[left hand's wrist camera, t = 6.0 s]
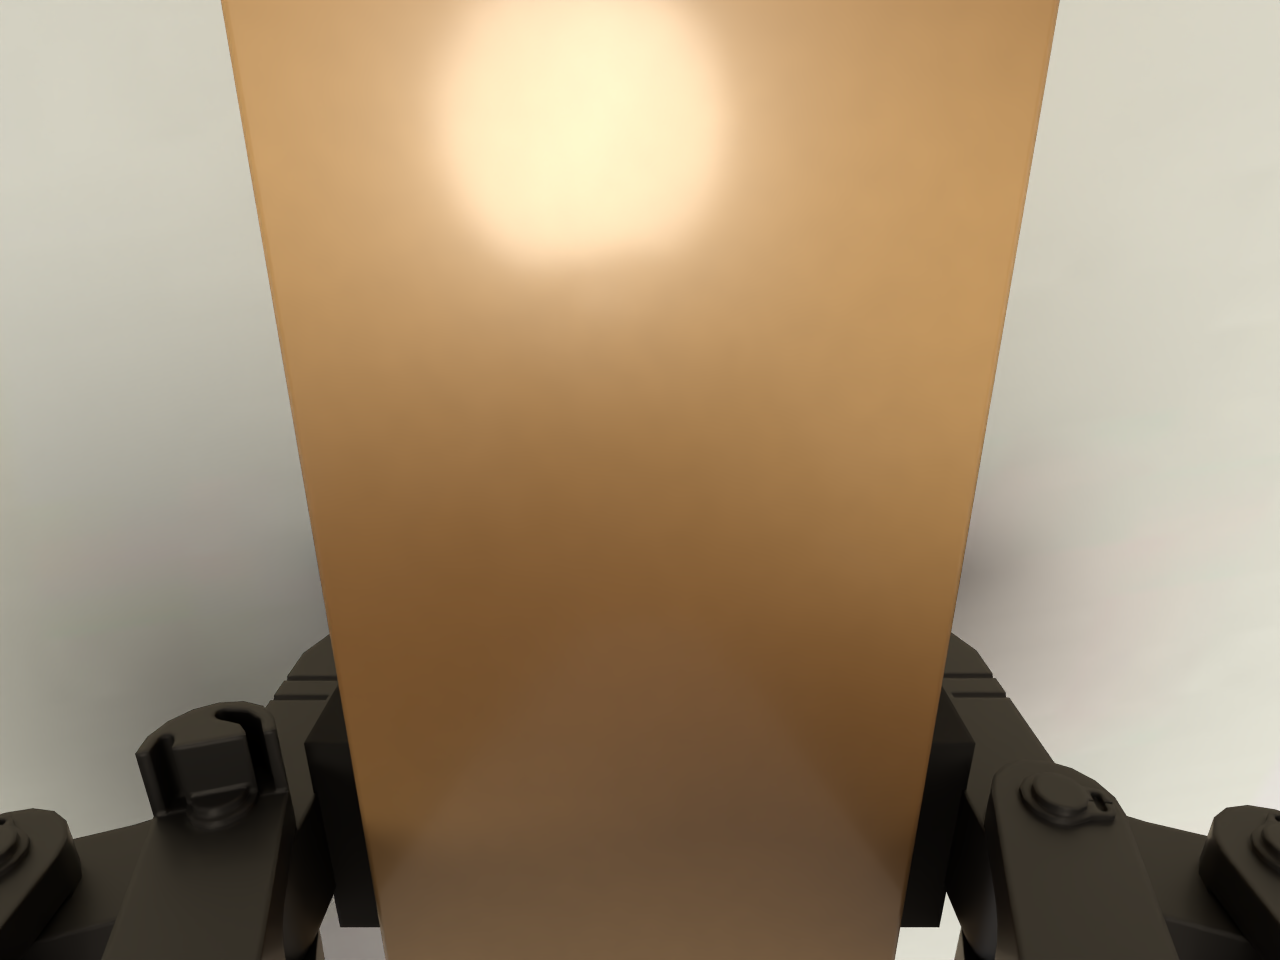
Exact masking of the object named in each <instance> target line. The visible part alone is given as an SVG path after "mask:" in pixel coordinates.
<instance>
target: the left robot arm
mask: <svg viewBox="0 0 1280 960" xmlns="http://www.w3.org/2000/svg"><path fill="white" fill-rule="evenodd" d="M135 755H136V758H137V762H138V765H139V768H140V772H141V775H142V778H143V782H144V785H145V788H146V792H147V795H148V798H149V802H150V805H151V808H152V812H153V815H154V817H153V819H152V820H149V821H145V822H142V823H139V824H136V825H132V826H128V827H123V828H119V829H115V830H110V831H106V832H102V833H98V834H93V835H89V836H85V837H81V838H76V839H73V838H72V835H71V832H70V830H69V827H68V824H67V821H66V820H65V819H63V818H62V817H61V816H60V815H58V814H57V813H56V812H55V811H49V810H42V809H34V808H32V809H26V810H20V811H13V812H7V813H3V814H1V815H0V960H324V959H325V958H324V952H323V946H322V940H321V935H320V931H319V928H320V925H321V923H322V921H323V918H324V916H325V913H326V911H327V909H328V906H329V904H330V901H331V899H332V897H333V894H334V898H335V903H336V908H337V913H338V918H339V923H340V927H380V923H379V917H378V912H377V906H376V900H375V894H374V888H373V883H372V877H371V871H370V865H369V859H368V853H367V848H366V842H365V836H364V830H363V824H362V818H361V813H360V807H359V801H358V795H357V789H356V784H355V778H354V772H353V766H352V760H351V754H350V749H349V743H348V737H347V731H346V725H345V720H344V714H343V708H342V702H341V696H340V690H339V685H338V679H337V673H336V667H335V661H334V656H333V650H332V644H331V638H330V634H329V635H328V636H326V637H325V638H324V639H322V640H321V641H319V642H318V643H317V644H315V645H314V646H313V647H311V648H310V649H308V650H307V651H306V652H304V653H303V654H302V656H301V657H300V659H299V660H298V662H297V663H296V664H295V666H294V667H293V669H292V670H291V672H290V673H289V675H288V676H287V681H284V682H283V683H282V685H281V686H280V688H279V689H278V691H277V692H276V693H275V695H274V700H271V701H270V702H269V704H268V705H267V706H266V708H264V707H263V706H261V705H257V704H253V703H249V702H244V701H240V702H222V703H216V704H212V705H208V706H205V707H201V708H197V709H193V710H191V711H189V712H187V713H185V714H183V715H181V716H178V717H176V718H174V719H172V720H170V721H168V722H167V723H165V724H164V725H163V726H161V727H160V728H159V729H157V730H156V731H155V732H153V733H152V734H151V735H149V736H148V737H147V738H146V740H145V741H144V742H143V744H142V745H141V747H140V748H139V749H138V751H137V752H136V753H135ZM946 892H947V894H948V897H949V899H950V901H951V904H952V906H953V908H954V911H955V913H956V916H957V918H958V920H959V923H960V925H961V931H960V935H959V940H958V945H957V950H956V954H955V959H954V960H1280V811H1278V810H1275V809H1269V808H1263V807H1257V806H1250V805H1244V806H1236V807H1229V808H1225V809H1224V810H1223V811H1222V812H1220V813H1219V814H1218V815H1217V816H1215V817H1214V819H1213V822H1212V825H1211V828H1210V830H1209V833H1208V836H1205V835H1200V834H1196V833H1192V832H1187V831H1183V830H1179V829H1175V828H1170V827H1166V826H1162V825H1157V824H1153V823H1149V822H1145V821H1142V820H1138V819H1135V818H1132V817H1128V816H1126V814H1125V813H1124V811H1123V809H1122V808H1121V806H1120V805H1119V803H1118V802H1117V800H1116V798H1115V797H1114V796H1113V795H1112V794H1110V793H1109V792H1108V791H1107V790H1106V789H1104V788H1103V787H1102V786H1101V785H1100V784H1099V783H1097V782H1096V781H1095V780H1093V779H1091V778H1089V777H1087V776H1085V775H1084V774H1082V773H1080V772H1078V771H1076V770H1074V769H1072V768H1069V767H1066V766H1062V765H1059V764H1056V763H1054V761H1053V760H1052V759H1051V757H1050V756H1049V754H1048V753H1047V751H1046V750H1045V749H1044V747H1043V746H1042V744H1041V743H1040V741H1039V740H1038V738H1037V737H1036V736H1035V734H1034V733H1033V731H1032V730H1031V728H1030V727H1029V725H1028V724H1027V723H1026V721H1025V720H1024V718H1023V717H1022V715H1021V714H1020V713H1019V711H1018V710H1017V708H1016V707H1015V705H1014V704H1013V702H1012V701H1011V700H1010V698H1006V692H1005V691H1004V690H1003V688H1002V687H1001V685H1000V684H999V682H998V681H997V679H996V678H993V676H992V672H991V671H990V669H989V668H988V666H987V665H986V664H985V662H984V661H983V659H982V658H981V656H980V655H979V654H978V652H977V651H976V650H975V649H973V648H972V647H971V646H969V645H968V644H967V643H965V642H964V641H962V640H961V639H960V638H958V637H957V636H955V635H954V634H953V633H951V634H950V640H949V646H948V652H947V658H946V664H945V669H944V675H943V681H942V687H941V693H940V698H939V704H938V710H937V716H936V722H935V727H934V733H933V739H932V745H931V751H930V757H929V762H928V768H927V774H926V780H925V786H924V791H923V797H922V803H921V809H920V815H919V820H918V826H917V832H916V838H915V844H914V849H913V855H912V861H911V867H910V873H909V879H908V884H907V890H906V896H905V902H904V908H903V913H902V919H901V925H900V927H939V926H940V921H941V916H942V911H943V905H944V900H945V895H946Z"/></svg>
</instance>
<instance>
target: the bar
mask: <svg viewBox="0 0 1280 960" xmlns="http://www.w3.org/2000/svg"><path fill="white" fill-rule="evenodd" d="M1059 1H1060V0H221V4H222V10H223V15H224V21H225V27H226V33H227V39H228V44H229V50H230V56H231V62H232V68H233V74H234V79H235V85H236V91H237V97H238V103H239V108H240V114H241V120H242V126H243V132H244V138H245V143H246V149H247V155H248V161H249V167H250V172H251V178H252V184H253V190H254V196H255V202H256V207H257V213H258V219H259V225H260V231H261V237H262V242H263V248H264V254H265V260H266V266H267V271H268V277H269V283H270V289H271V295H272V301H273V306H274V312H275V318H276V324H277V330H278V335H279V341H280V347H281V353H282V359H283V365H284V370H285V376H286V382H287V388H288V394H289V399H290V405H291V411H292V417H293V423H294V429H295V434H296V440H297V446H298V452H299V458H300V463H301V469H302V475H303V481H304V487H305V493H306V498H307V504H308V510H309V516H310V522H311V528H312V533H313V539H314V545H315V551H316V557H317V562H318V568H319V574H320V580H321V586H322V592H323V597H324V603H325V609H326V615H327V621H328V626H329V632H330V638H331V644H332V650H333V656H334V661H335V667H336V673H337V679H338V685H339V690H340V696H341V702H342V708H343V714H344V720H345V725H346V731H347V737H348V743H349V749H350V754H351V760H352V766H353V772H354V778H355V784H356V789H357V795H358V801H359V807H360V813H361V818H362V824H363V830H364V836H365V842H366V848H367V853H368V859H369V865H370V871H371V877H372V883H373V888H374V894H375V900H376V906H377V912H378V917H379V923H380V929H381V935H382V941H383V947H384V952H385V958H386V960H895V954H896V948H897V942H898V937H899V931H900V925H901V919H902V913H903V908H904V902H905V896H906V890H907V884H908V879H909V873H910V867H911V861H912V855H913V849H914V844H915V838H916V832H917V826H918V820H919V815H920V809H921V803H922V797H923V791H924V786H925V780H926V774H927V768H928V762H929V757H930V751H931V745H932V739H933V733H934V727H935V722H936V716H937V710H938V704H939V698H940V693H941V687H942V681H943V675H944V669H945V664H946V658H947V652H948V646H949V640H950V634H951V629H952V623H953V617H954V611H955V605H956V600H957V594H958V588H959V582H960V576H961V571H962V565H963V559H964V553H965V547H966V542H967V536H968V530H969V524H970V518H971V512H972V507H973V501H974V495H975V489H976V483H977V478H978V472H979V466H980V460H981V454H982V449H983V443H984V437H985V431H986V425H987V419H988V414H989V408H990V402H991V396H992V390H993V385H994V379H995V373H996V367H997V361H998V356H999V350H1000V344H1001V338H1002V332H1003V327H1004V321H1005V315H1006V309H1007V303H1008V297H1009V292H1010V286H1011V280H1012V274H1013V268H1014V263H1015V257H1016V251H1017V245H1018V239H1019V234H1020V228H1021V222H1022V216H1023V210H1024V204H1025V199H1026V193H1027V187H1028V181H1029V175H1030V170H1031V164H1032V158H1033V152H1034V146H1035V141H1036V135H1037V129H1038V123H1039V117H1040V112H1041V106H1042V100H1043V94H1044V88H1045V82H1046V77H1047V71H1048V65H1049V59H1050V53H1051V48H1052V42H1053V36H1054V30H1055V24H1056V19H1057V13H1058V7H1059Z"/></svg>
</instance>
